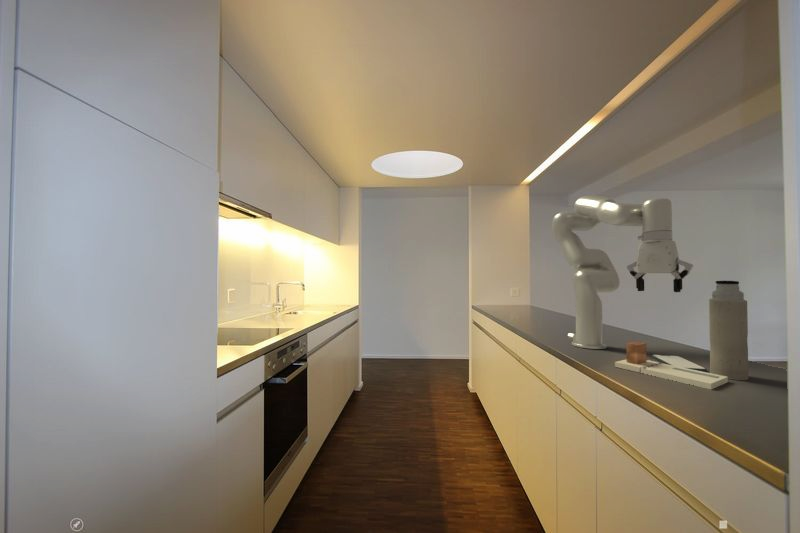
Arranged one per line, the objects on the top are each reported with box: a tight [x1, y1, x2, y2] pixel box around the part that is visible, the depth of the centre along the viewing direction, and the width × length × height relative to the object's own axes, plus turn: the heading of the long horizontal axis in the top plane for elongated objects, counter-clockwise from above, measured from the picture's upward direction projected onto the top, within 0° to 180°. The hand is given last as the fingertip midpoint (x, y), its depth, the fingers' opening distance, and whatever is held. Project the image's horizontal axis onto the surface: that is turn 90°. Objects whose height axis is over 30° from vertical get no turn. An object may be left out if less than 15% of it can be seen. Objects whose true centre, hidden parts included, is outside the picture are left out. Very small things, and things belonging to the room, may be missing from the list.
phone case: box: [651, 354, 708, 373], centre depth 109 cm, size 9×2×16 cm
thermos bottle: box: [708, 280, 749, 381], centre depth 97 cm, size 8×8×28 cm
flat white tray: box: [640, 362, 729, 391], centre depth 95 cm, size 16×12×2 cm
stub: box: [614, 341, 659, 373], centre depth 105 cm, size 7×12×8 cm, turn 120°
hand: (658, 291), depth 105 cm, fingers open, 9 cm apart
